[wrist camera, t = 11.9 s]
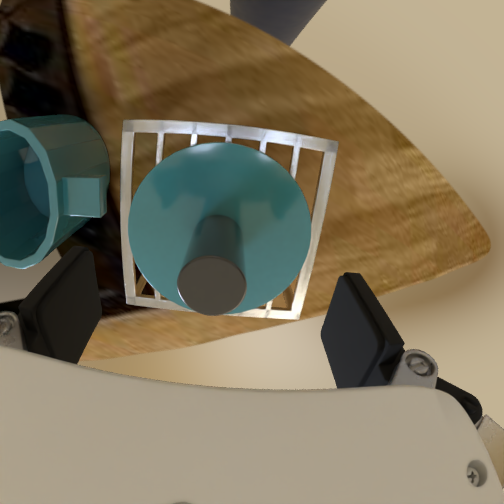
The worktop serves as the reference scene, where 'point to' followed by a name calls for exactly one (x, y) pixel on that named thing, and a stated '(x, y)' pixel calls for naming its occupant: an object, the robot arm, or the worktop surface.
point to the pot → (48, 184)
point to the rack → (229, 132)
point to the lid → (219, 228)
